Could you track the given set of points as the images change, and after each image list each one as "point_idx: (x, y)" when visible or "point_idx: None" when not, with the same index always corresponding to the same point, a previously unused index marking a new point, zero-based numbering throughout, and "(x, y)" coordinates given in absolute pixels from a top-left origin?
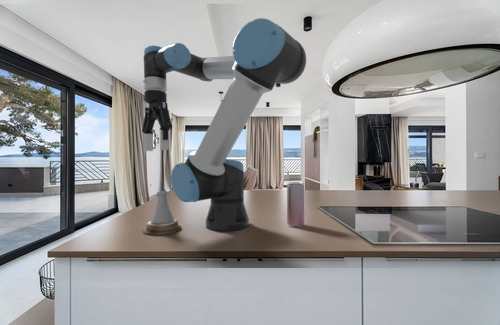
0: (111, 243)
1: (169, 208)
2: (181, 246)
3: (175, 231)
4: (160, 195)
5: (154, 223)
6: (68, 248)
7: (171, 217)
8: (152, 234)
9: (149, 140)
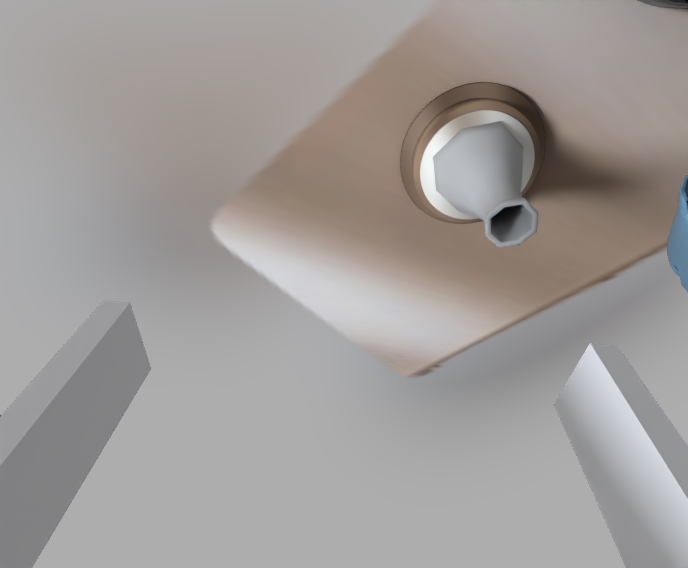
0: (460, 305)
1: (509, 161)
2: (669, 211)
3: (544, 144)
4: (514, 232)
5: None
6: (414, 361)
7: (521, 153)
8: None
9: (54, 459)
